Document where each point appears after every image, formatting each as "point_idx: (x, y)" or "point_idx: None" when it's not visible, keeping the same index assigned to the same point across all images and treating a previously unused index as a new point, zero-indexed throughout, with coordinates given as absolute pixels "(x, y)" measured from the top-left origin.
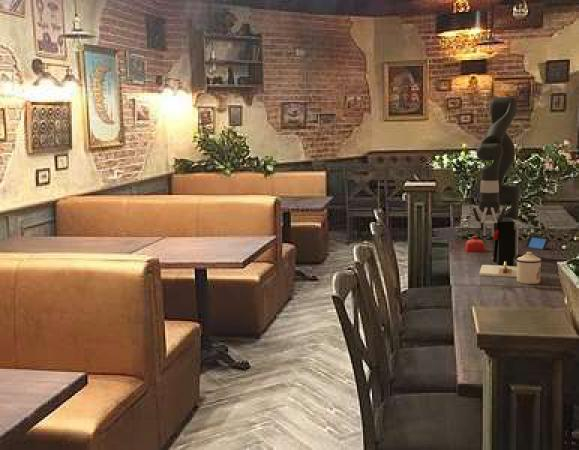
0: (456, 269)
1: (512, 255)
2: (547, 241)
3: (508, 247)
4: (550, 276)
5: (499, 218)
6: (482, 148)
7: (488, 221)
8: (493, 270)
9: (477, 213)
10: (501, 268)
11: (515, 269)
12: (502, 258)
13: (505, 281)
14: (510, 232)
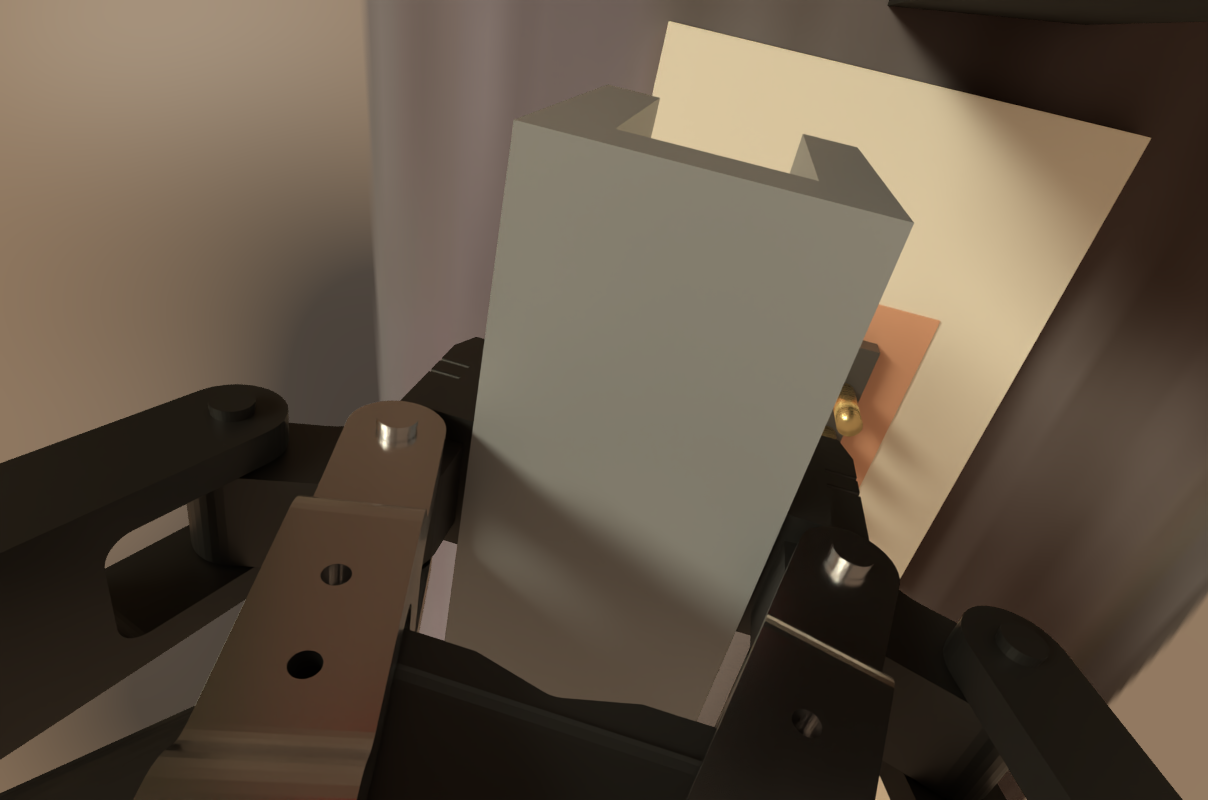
0: (388, 176)
1: (1152, 20)
2: None
3: (1143, 12)
4: (1189, 584)
5: (968, 695)
6: None
7: (647, 226)
8: None
9: (36, 626)
10: None
11: (963, 360)
12: (968, 5)
13: (714, 684)
14: None
